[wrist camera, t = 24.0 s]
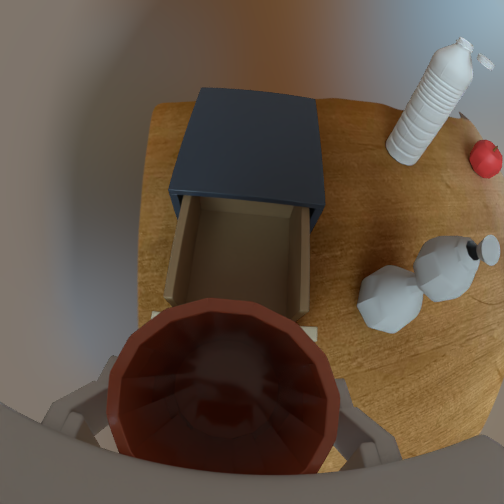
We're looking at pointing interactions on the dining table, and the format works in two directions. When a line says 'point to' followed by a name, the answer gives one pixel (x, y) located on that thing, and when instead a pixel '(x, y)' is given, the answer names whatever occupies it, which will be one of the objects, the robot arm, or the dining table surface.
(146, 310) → the dining table surface
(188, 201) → the drawer
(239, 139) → the cabinet
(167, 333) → the cup
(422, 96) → the water bottle
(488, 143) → the apple
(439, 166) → the dining table surface
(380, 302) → the gourd bottle
